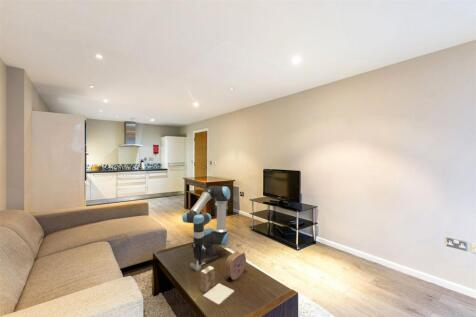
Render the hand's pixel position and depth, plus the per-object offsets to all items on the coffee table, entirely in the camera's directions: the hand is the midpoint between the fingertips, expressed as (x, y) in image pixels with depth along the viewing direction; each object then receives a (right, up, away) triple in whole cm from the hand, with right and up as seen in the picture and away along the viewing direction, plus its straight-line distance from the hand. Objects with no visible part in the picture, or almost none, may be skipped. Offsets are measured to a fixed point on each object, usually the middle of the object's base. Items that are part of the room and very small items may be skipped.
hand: (198, 268), depth 151 cm
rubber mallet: (+2, -11, +29) cm, 31 cm away
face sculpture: (+27, -11, +10) cm, 31 cm away
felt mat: (+16, -11, -11) cm, 22 cm away
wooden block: (+7, -11, -5) cm, 14 cm away
